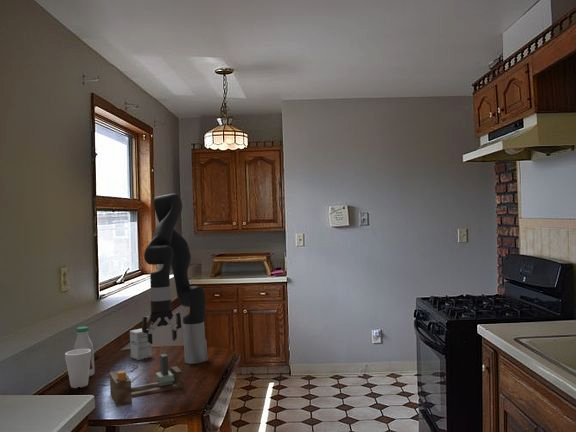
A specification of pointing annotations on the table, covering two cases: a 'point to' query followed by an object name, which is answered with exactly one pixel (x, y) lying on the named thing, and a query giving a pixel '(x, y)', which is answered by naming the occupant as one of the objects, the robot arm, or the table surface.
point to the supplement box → (140, 345)
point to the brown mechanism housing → (139, 387)
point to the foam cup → (78, 367)
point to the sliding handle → (164, 372)
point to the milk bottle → (85, 345)
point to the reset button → (121, 376)
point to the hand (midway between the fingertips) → (162, 341)
